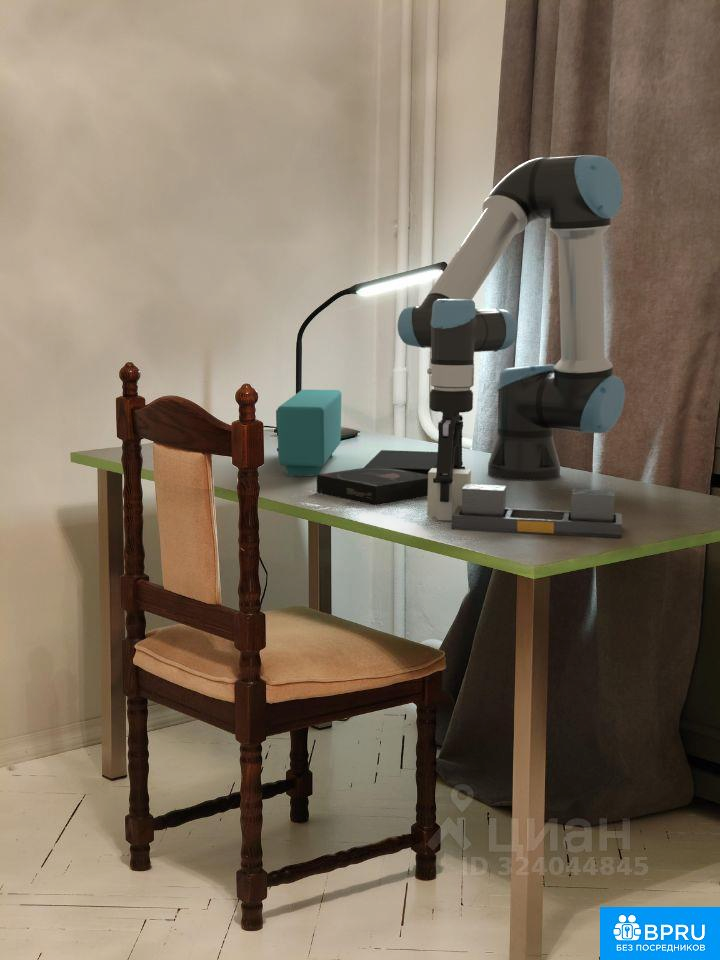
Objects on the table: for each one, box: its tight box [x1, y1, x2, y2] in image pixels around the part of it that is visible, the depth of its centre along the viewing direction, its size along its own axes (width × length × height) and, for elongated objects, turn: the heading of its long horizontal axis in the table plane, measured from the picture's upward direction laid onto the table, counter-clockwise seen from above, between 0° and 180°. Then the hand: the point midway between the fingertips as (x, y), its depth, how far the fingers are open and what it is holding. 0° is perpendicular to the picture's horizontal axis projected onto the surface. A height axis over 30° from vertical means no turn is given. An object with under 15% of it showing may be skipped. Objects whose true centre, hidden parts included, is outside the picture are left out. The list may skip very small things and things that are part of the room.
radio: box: [275, 389, 342, 476], centre depth 267 cm, size 34×10×15 cm, turn 175°
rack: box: [451, 483, 623, 539], centre depth 207 cm, size 9×28×7 cm, turn 78°
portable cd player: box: [316, 466, 428, 506], centre depth 237 cm, size 16×17×4 cm
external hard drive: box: [363, 449, 438, 475], centre depth 262 cm, size 14×23×3 cm, turn 170°
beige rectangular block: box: [426, 468, 472, 518], centre depth 217 cm, size 4×7×8 cm, turn 78°
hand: (448, 513), depth 217 cm, fingers open, 10 cm apart
